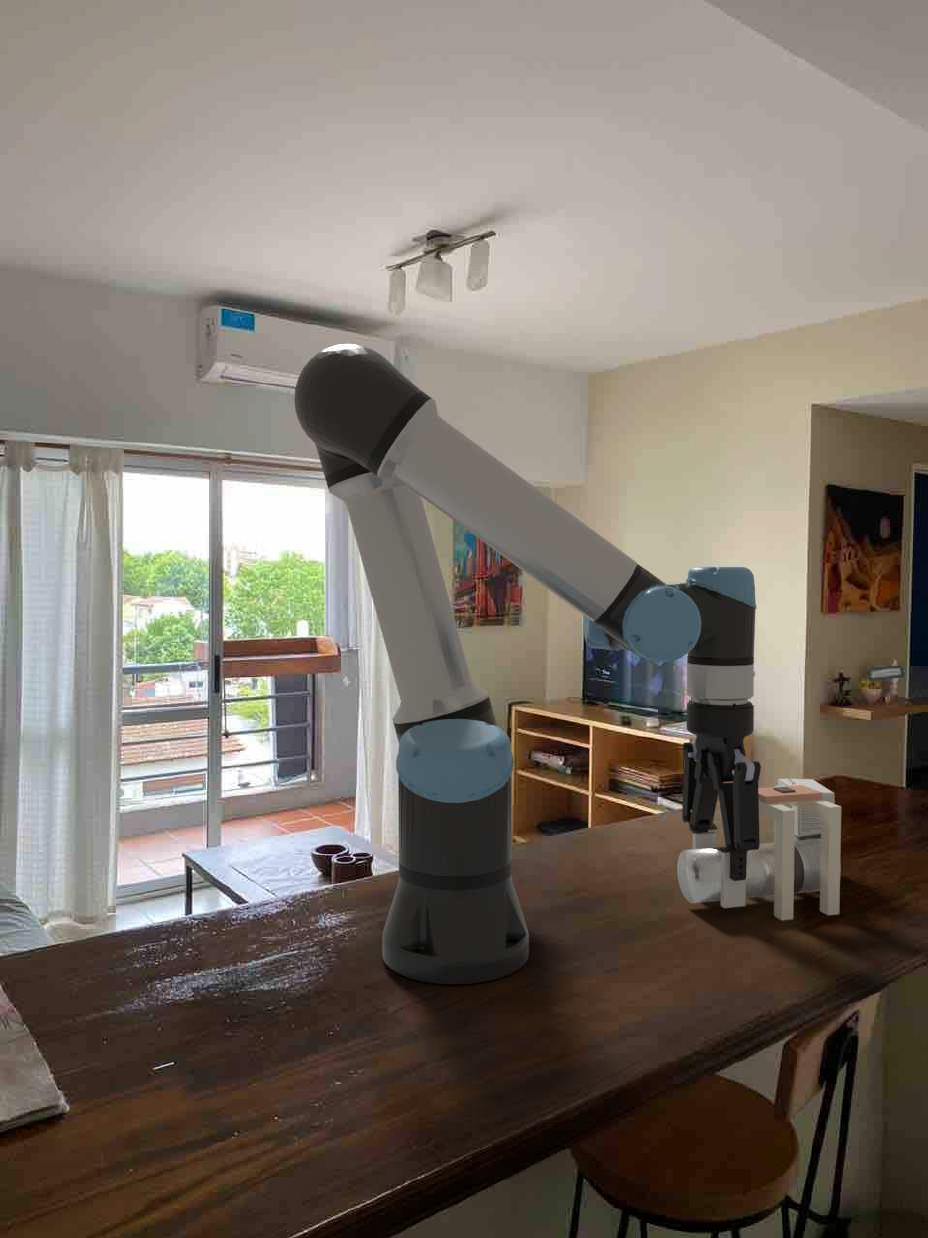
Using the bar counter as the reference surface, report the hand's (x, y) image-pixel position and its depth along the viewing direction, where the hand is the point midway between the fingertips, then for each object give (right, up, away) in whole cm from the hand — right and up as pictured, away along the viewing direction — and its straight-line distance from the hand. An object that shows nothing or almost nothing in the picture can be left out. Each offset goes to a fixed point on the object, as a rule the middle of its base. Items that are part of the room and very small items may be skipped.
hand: (718, 895), depth 110 cm
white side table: (+8, -1, +2) cm, 9 cm away
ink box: (+15, -1, +12) cm, 19 cm away
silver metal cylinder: (+5, 0, +2) cm, 5 cm away
